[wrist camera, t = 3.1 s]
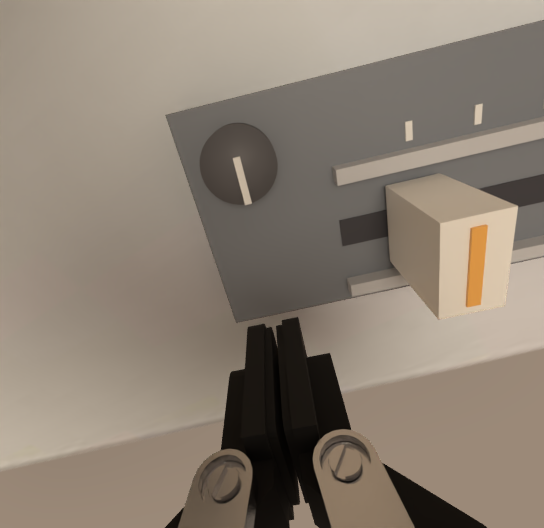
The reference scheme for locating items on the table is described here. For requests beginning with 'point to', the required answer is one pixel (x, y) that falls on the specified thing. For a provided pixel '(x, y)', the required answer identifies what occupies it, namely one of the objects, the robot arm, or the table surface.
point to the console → (361, 165)
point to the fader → (451, 243)
